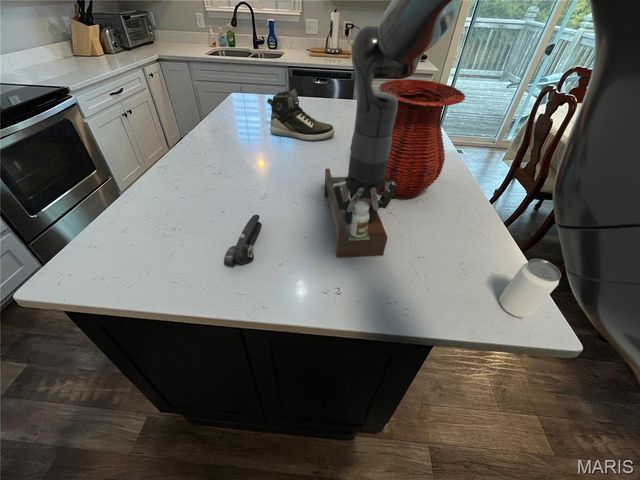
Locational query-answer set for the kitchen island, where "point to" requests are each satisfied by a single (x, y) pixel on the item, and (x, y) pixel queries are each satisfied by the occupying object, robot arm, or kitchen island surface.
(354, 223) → the pill bottle
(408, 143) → the vase
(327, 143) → the kitchen island surface
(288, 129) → the athletic shoe
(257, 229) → the can opener
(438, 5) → the robot arm
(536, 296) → the can
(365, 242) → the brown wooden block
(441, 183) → the kitchen island surface
